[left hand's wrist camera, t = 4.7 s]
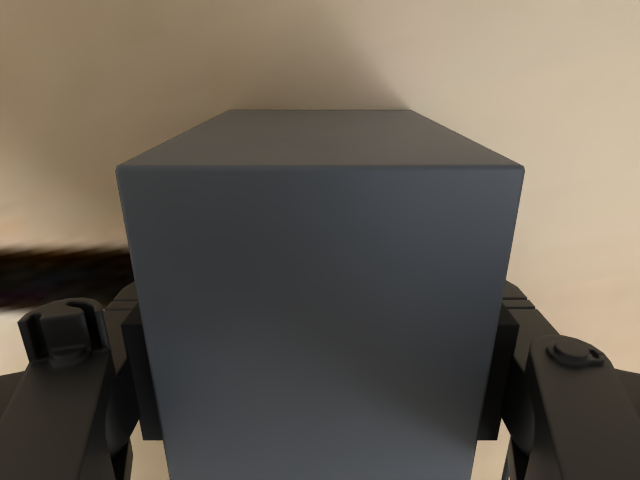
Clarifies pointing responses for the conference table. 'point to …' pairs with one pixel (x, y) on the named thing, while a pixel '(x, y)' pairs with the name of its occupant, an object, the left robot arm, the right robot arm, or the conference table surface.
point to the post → (320, 292)
